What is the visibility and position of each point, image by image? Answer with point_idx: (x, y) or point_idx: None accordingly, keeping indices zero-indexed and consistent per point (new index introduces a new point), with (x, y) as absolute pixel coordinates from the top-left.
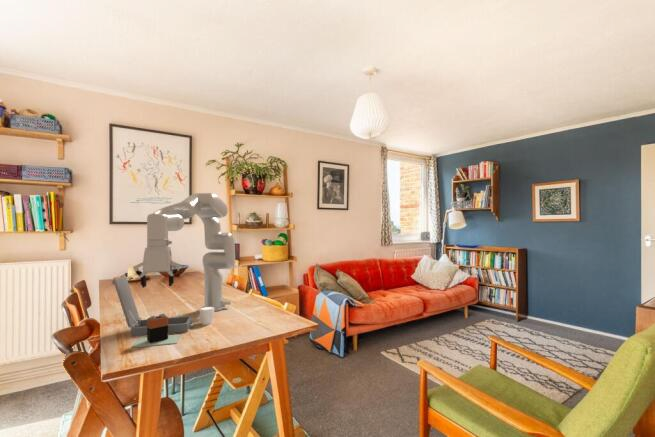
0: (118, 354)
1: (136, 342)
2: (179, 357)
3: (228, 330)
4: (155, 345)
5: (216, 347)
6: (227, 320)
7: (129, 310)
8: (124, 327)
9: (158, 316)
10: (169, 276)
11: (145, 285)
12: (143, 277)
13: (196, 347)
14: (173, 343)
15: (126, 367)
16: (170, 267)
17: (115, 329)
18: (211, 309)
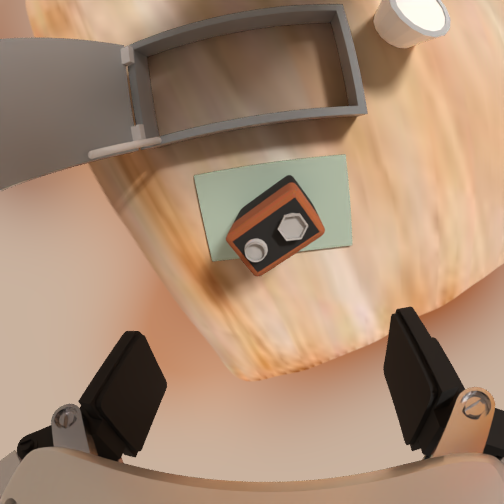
0: (204, 301)
1: (209, 223)
2: (374, 338)
3: (482, 146)
4: None
5: (453, 288)
6: (455, 30)
7: (91, 157)
8: None
9: (273, 221)
10: (413, 450)
11: (150, 363)
12: (127, 451)
13: (411, 282)
14: (342, 245)
15: (268, 369)
16: (492, 483)
17: None
18: (446, 32)
